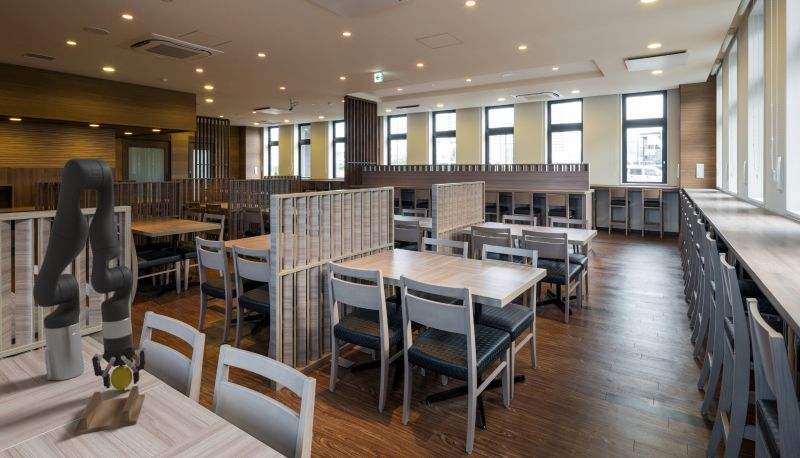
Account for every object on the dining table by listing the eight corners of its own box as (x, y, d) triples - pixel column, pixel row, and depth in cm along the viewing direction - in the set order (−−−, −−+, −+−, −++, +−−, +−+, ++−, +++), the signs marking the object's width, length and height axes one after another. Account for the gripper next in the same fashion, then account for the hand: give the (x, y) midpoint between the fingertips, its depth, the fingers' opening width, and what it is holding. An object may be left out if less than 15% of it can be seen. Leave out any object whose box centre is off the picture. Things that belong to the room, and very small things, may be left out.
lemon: (137, 386, 142) (135, 361, 141) (124, 395, 137) (122, 369, 136) (120, 385, 143) (118, 361, 142) (107, 394, 138) (105, 369, 136)
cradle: (74, 435, 117) (72, 420, 116) (89, 406, 131) (88, 393, 130) (136, 423, 122) (135, 409, 121) (144, 397, 136) (143, 384, 135)
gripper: (146, 325, 143) (150, 375, 146) (92, 331, 138) (97, 383, 141) (142, 333, 137) (147, 386, 139) (85, 340, 131) (91, 395, 134)
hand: (122, 384), depth 140 cm, fingers open, 6 cm apart
